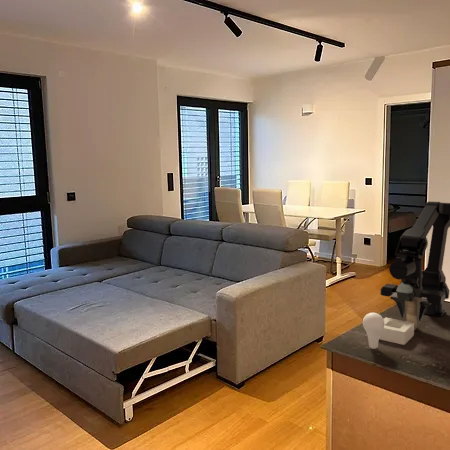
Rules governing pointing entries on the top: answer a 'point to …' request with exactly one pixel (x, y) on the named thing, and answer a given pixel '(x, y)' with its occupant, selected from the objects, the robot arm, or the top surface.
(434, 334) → the top surface
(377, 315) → the lightbulb
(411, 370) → the top surface
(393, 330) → the socket
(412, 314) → the dowel
